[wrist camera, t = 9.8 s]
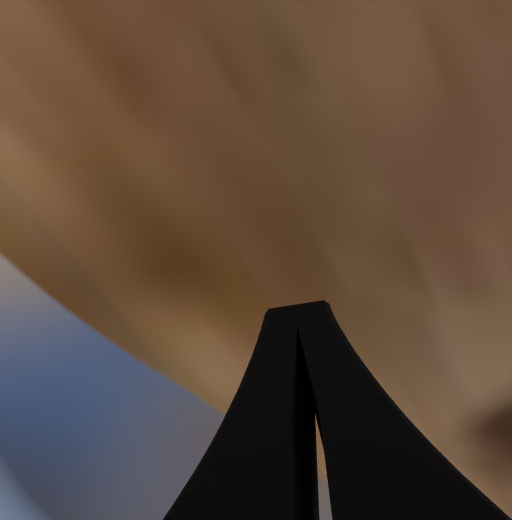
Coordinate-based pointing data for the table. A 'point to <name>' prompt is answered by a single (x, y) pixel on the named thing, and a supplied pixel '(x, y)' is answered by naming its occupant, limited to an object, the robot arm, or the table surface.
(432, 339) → the table surface
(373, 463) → the robot arm
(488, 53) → the table surface
